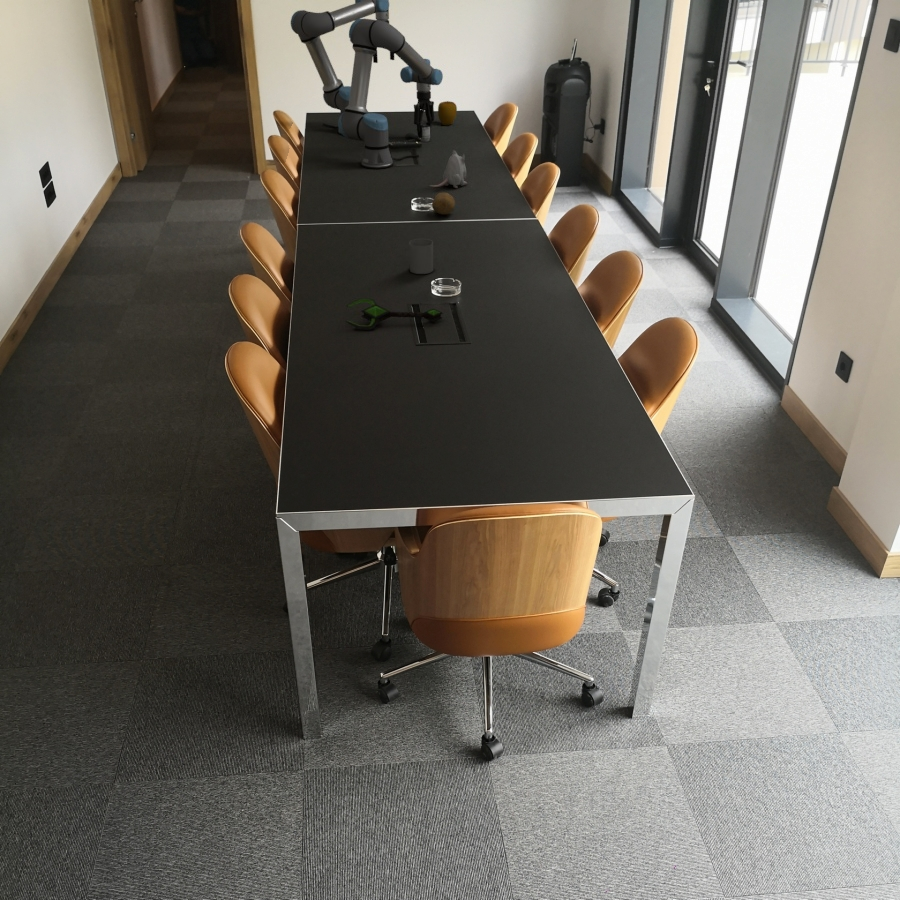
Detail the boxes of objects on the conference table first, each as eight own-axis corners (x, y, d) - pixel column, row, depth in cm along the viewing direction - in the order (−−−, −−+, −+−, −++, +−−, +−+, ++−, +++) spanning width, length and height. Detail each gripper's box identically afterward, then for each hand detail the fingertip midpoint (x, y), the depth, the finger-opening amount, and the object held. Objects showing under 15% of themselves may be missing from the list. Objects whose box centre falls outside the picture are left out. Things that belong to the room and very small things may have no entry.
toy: (472, 184, 399) (472, 151, 391) (436, 195, 384) (436, 161, 376) (457, 180, 404) (458, 147, 396) (422, 191, 389) (421, 157, 381)
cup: (409, 265, 311) (408, 238, 306) (432, 265, 312) (431, 238, 307) (410, 274, 304) (409, 246, 299) (433, 273, 305) (433, 246, 299)
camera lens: (425, 142, 467) (424, 127, 463) (416, 140, 471) (416, 125, 467) (432, 140, 472) (432, 125, 467) (423, 138, 475) (423, 123, 471)
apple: (456, 126, 498) (456, 103, 491) (437, 126, 498) (437, 102, 492) (456, 122, 508) (456, 99, 501) (438, 122, 508) (438, 99, 501)
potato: (453, 208, 369) (453, 189, 365) (456, 218, 357) (456, 199, 353) (431, 208, 368) (430, 189, 364) (432, 218, 356) (432, 199, 352)
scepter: (442, 294, 271) (346, 291, 269) (443, 324, 264) (344, 322, 262) (441, 307, 276) (346, 304, 274) (442, 337, 269) (345, 335, 267)
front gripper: (416, 94, 449) (417, 140, 462) (441, 89, 462) (441, 134, 474) (406, 92, 453) (407, 138, 466) (430, 87, 466) (431, 132, 478)
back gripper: (371, 22, 472) (373, 64, 484) (402, 18, 488) (403, 59, 500) (361, 21, 476) (363, 63, 488) (393, 17, 492) (394, 57, 504)
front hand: (424, 136), depth 470 cm, fingers closed on camera lens, 6 cm apart
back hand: (383, 61), depth 494 cm, fingers open, 13 cm apart
